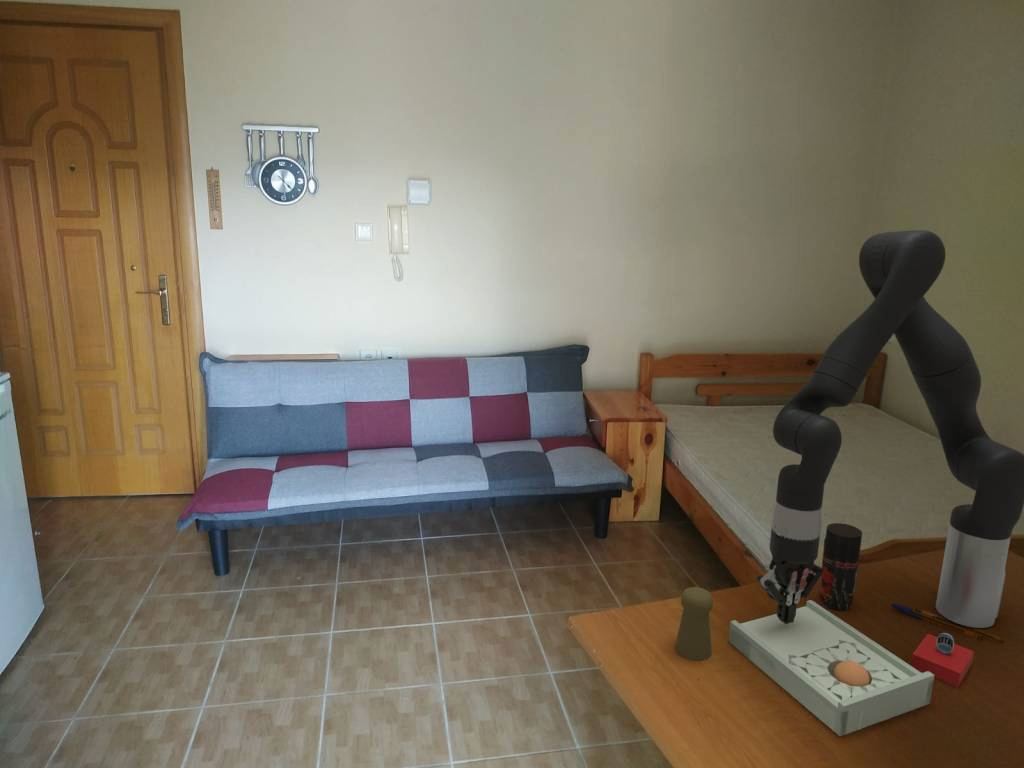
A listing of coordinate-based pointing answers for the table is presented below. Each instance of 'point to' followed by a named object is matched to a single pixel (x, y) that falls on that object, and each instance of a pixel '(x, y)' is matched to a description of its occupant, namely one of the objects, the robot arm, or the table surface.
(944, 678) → the red slab
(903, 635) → the table surface
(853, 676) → the ball
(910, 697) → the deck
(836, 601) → the deodorant
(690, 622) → the olive pepper shaker
